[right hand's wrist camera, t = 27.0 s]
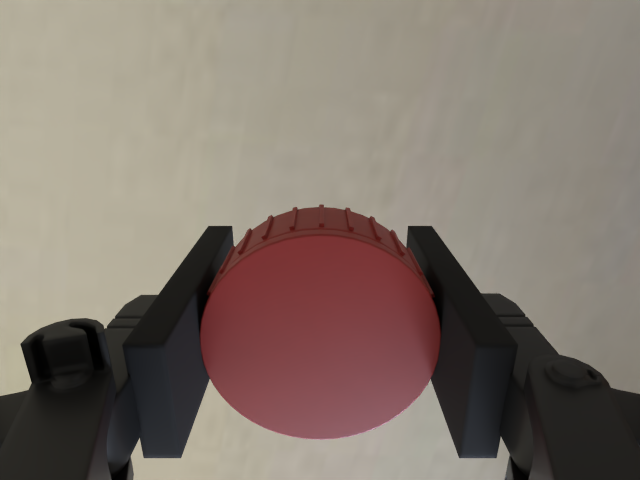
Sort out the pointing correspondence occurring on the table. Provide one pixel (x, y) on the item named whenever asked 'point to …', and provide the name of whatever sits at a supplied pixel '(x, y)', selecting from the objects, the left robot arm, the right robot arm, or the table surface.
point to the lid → (320, 325)
